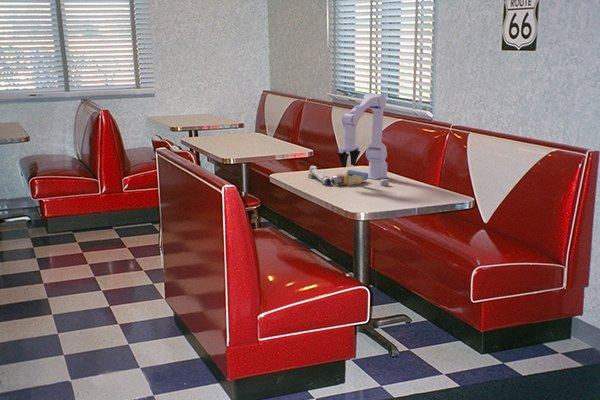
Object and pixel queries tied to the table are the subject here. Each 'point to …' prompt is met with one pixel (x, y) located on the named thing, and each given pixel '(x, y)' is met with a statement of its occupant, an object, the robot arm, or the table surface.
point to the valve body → (347, 179)
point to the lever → (357, 173)
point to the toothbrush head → (318, 176)
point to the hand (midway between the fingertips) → (348, 166)
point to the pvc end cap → (384, 182)
